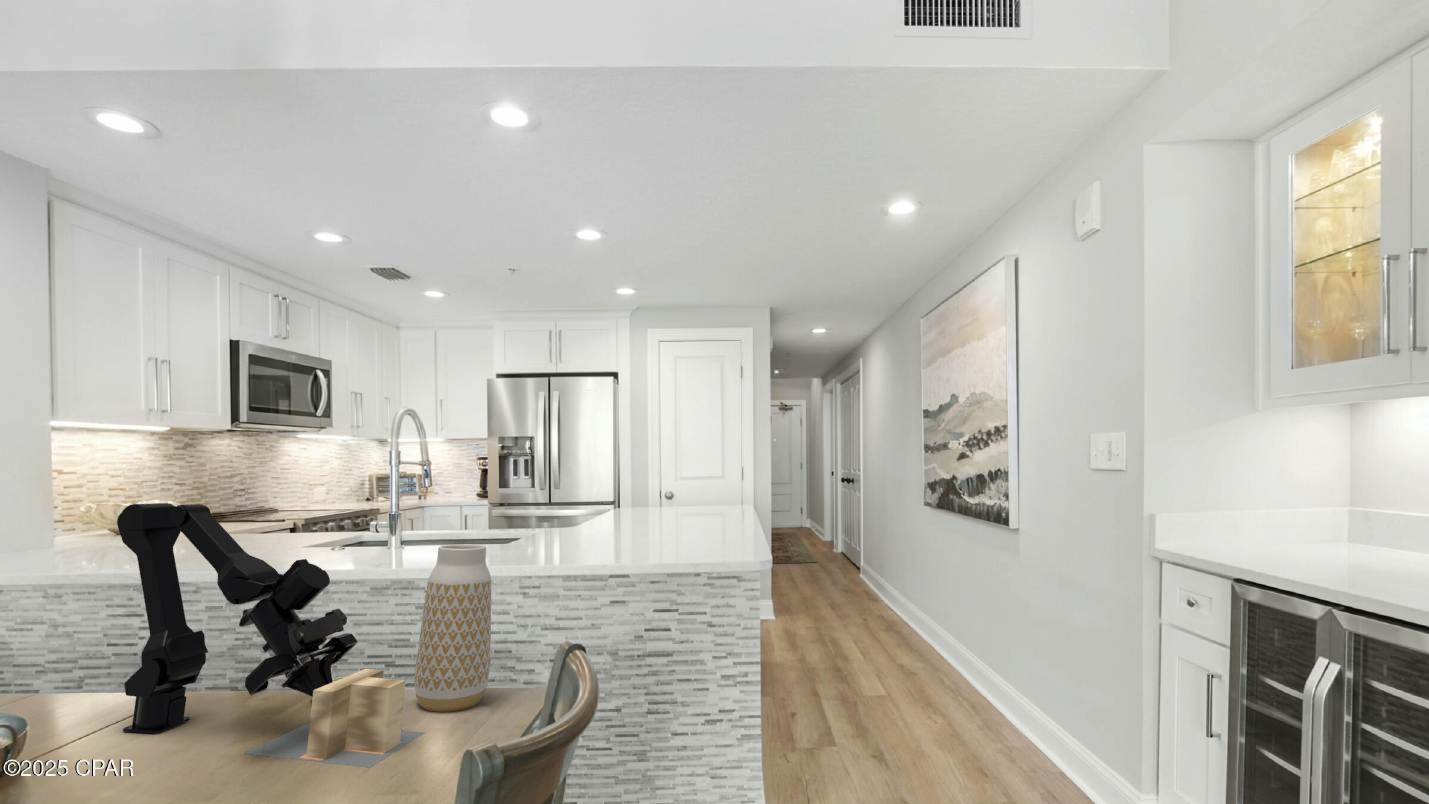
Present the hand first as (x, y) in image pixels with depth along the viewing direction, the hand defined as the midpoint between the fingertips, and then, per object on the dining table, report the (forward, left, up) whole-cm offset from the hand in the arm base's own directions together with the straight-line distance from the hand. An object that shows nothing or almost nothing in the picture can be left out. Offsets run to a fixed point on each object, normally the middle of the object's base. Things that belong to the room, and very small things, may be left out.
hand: (332, 701), depth 107 cm
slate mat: (+2, 0, -7) cm, 7 cm away
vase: (+11, +21, -7) cm, 25 cm away
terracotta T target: (+6, 0, -7) cm, 9 cm away
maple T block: (+6, -1, -6) cm, 9 cm away
